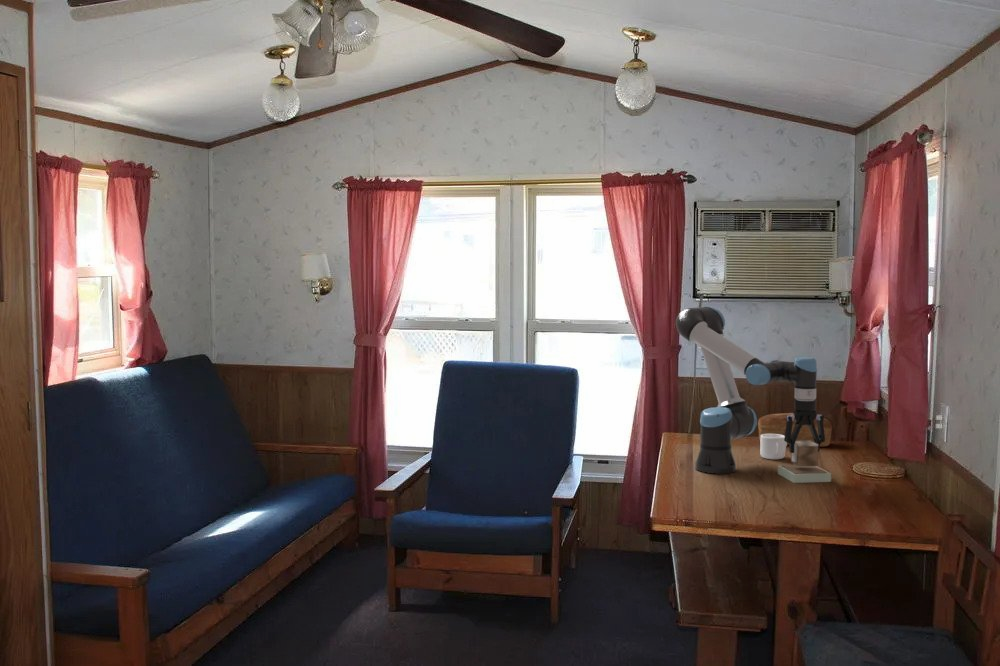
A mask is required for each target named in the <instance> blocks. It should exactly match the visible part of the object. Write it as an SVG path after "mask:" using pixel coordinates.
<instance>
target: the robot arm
mask: <svg viewBox="0 0 1000 666" xmlns="http://www.w3.org/2000/svg"><path fill="white" fill-rule="evenodd" d="M675 326H676V330H677V332H678V333H679V335H680V336H681V337H682V338H684V339H685V340H686V341H688V342H690V343H691V344H696V345H697V346H699V347H700V348H701V352H702V355H703V358H704V362H705V365H706V367H707V370H708V374H709V377H710V380H711V384H712V387H713V390H714V392H715V395H716V398H717V402H718V403H717V406H716V407H709V408H705V409H704V410H702V411H701V412H700V419H699V425H700V426H699V427H700V428H699V430H700V432H699V433H700V434H699V436H700V437H699V439H700V441H699V442H700V443H699V446H700V447H699V451H698V454H697V456H696V460H695V466H694V468H696V469H697V470H696V469H695V470H696V471H698V470H699V472H701V471H702V473H705V472H707V474H714V473H716V474H719V475H720V474H724V475H725V474H733V473H734V472H736V471H737V468H736V467H737V466H736V465H737V464H736V460H735V459H734V458H735V457H734V455H733V451H732V441H733V440H736V439H740V438H746V437H747V436H750V435H751V434H752V433H754V432H755V429H756V428H757V426H758V418H757V414H756V413H755V410H753V409H752V408H751V407H749V406H748V405H747V402H746V400H745V399H744V398H742V397H741V396H740V394H739V391H738V387H737V383H736V381H735V377H734V374H733V372H732V368H734V369H735V370H737V371H739V372H740V373H741V374H743V375H745V379H746V380H747V382H748V383H749V384H750V385H752V386H763V385H766V384H767V385H768V384H774V383H778V382H786V383H794V397H793V398H794V404H793V405H794V406H793V407H794V412H793V413H794V414H793V415H790V416H788V415H787V416H786V420H787V424H786V431H785V438H784V441H785V442H787V443H789V445H788V446H789V453H790V454H791V453H792V461H793V462H797V445H796V444H795V442H796V439H797V436H798V434H799V431H800V429H801V427H802V425H808V426H809V428H810V431H811V434H812V436H813V439H814V442H815V443H816V444H818V453H820V448H821V447H820V444H821V442H825V435H824V425H823V420H824V418H825V416H824V414H823V415H822V414H817V401H816V399H817V377H818V376H817V372H818V368H817V366H818V364H817V360H816V358H814V357H810V356H809V357H808V356H807V357H806V356H802V357H801V356H798V357H795V360H794V361H785V360H784V361H783V360H778V359H775V360H772V359H771V360H768V361H766V362H764V361H762V360H760V359H758V358H757V357H756V356H754V355H752V354H751V353H749V352H747V350H745V349H743V348H741V347H740V346H738V345H737V344H736V343H733V341H730V340H729V339H728V338H726V337H724V336H725V334H724V329H725V326H726V320H725V317H724V315H723V313H722V312H721V311H720V310H719V309H718V308H715V307H711V306H702V307H689V308H685V309H683V310H682V311H680V312H679V313H678V314H677V316H676V319H675ZM731 367H732V368H731ZM794 418H795V419H796V423H795V427H794V430H793V432H792V425H793V420H794ZM815 418H816V419H817V426H818V434H817V431H816V428H815V424H814V420H815ZM791 432H792V435H791ZM818 435H819V437H818Z"/></svg>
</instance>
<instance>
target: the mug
mask: <svg viewBox="0 0 1000 666" xmlns="http://www.w3.org/2000/svg"><path fill="white" fill-rule="evenodd" d="M784 438H785V436H784V435H780V434H762V435H761V436H760V440H759V441H760V444H759V445H760V447H759V449H760V451H759V453H760V457H762V458H763V459H765V460H766V459H767V460H772V461H773V460H783V459H784V458H785V456H786V449H787V446H788V444H787V442H785V441H784Z"/></svg>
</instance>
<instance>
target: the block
mask: <svg viewBox="0 0 1000 666" xmlns="http://www.w3.org/2000/svg"><path fill="white" fill-rule="evenodd" d="M795 444H796V445H797V462H793V461H792V453H791V452H790V463H791V464H793V465H797V466H799V467H801V466H817V467H819V465H818V463H819V452H818V444H816V443H814V442H812V441H796V442H795Z"/></svg>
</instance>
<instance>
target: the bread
mask: <svg viewBox="0 0 1000 666" xmlns="http://www.w3.org/2000/svg"><path fill="white" fill-rule="evenodd" d="M793 414H794V412H786V413H785V412H784V413H770V414H767V415H763V416H761V417H759V419H757V426H758V427H757V428H758V440H759V441H760V436H761V435H762V434H780V435H784V436H785V431H786V424H787V420H786V416H787V415H788V416H790V415H793ZM795 423H796V419H795V418H794V420H793V425H792V432H793V430H794V427H795ZM814 424H815V428H816V431H817V434H818V426H817V419H816V418H815V420H814ZM823 425H824V435H825V442H821V444H820V448H821V447H828V446H829V445H830V443H831V437H832V430H833V425H832V424H831V422H830V421H829V420H828V418H825V417H824V420H823ZM792 432H791V435H792ZM818 437H819V435H818ZM796 441H812V442H814V439H813V436H812V434H811V431H810V428H809V426H808V425H802V427H801V429H800V431H799V434H798V436H797V439H796ZM814 443H815V442H814ZM787 446H789V443H787Z"/></svg>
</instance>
